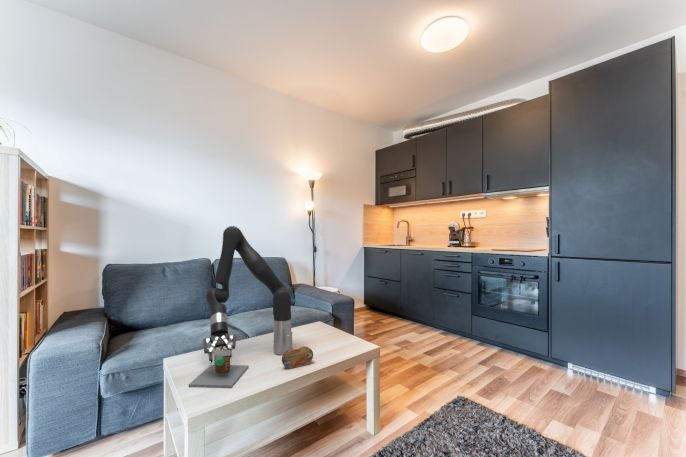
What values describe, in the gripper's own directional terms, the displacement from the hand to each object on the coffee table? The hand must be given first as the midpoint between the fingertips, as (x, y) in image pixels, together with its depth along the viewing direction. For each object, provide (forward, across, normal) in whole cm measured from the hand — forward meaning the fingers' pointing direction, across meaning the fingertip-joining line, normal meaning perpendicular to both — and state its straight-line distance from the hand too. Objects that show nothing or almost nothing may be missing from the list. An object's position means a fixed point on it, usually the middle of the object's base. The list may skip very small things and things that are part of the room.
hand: (220, 359), depth 125 cm
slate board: (+5, 0, +6) cm, 8 cm away
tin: (+8, +33, +3) cm, 35 cm away
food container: (+2, 0, +5) cm, 5 cm away
